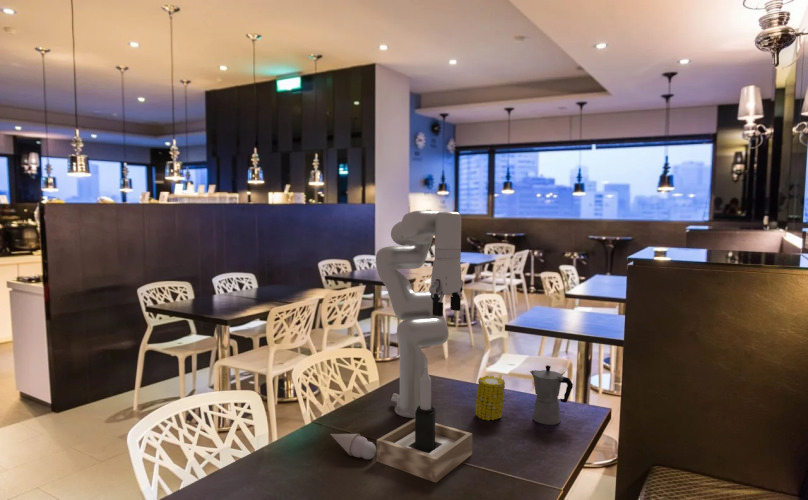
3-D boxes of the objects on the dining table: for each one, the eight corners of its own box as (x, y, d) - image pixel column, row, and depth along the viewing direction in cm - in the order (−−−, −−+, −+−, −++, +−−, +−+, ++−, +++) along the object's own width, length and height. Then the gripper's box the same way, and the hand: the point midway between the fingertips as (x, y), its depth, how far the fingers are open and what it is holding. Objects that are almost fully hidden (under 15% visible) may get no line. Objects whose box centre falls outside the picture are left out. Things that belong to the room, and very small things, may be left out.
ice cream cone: (328, 447, 151) (373, 467, 145) (320, 441, 146) (366, 461, 140) (338, 426, 154) (382, 445, 148) (331, 420, 149) (376, 439, 143)
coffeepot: (521, 417, 174) (522, 363, 173) (537, 409, 180) (538, 358, 179) (563, 431, 163) (565, 374, 161) (578, 423, 169) (580, 368, 168)
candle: (432, 460, 143) (433, 370, 141) (414, 458, 144) (414, 368, 142) (435, 451, 148) (436, 364, 146) (417, 450, 149) (418, 363, 147)
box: (376, 461, 143) (376, 439, 143) (416, 436, 159) (416, 417, 158) (435, 482, 132) (436, 459, 132) (472, 454, 148) (472, 433, 147)
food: (487, 413, 180) (506, 424, 173) (463, 413, 174) (483, 424, 167) (496, 373, 181) (516, 382, 173) (473, 371, 174) (492, 380, 167)
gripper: (452, 251, 162) (451, 306, 163) (420, 256, 148) (419, 316, 149) (473, 253, 157) (472, 309, 159) (442, 257, 143) (441, 319, 145)
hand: (446, 312), depth 154 cm, fingers open, 9 cm apart
